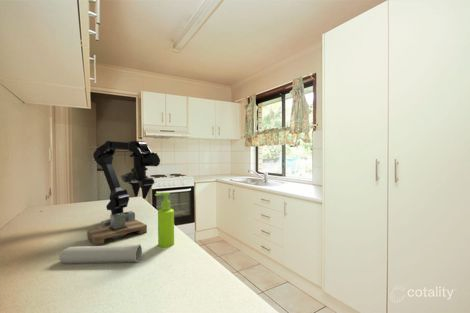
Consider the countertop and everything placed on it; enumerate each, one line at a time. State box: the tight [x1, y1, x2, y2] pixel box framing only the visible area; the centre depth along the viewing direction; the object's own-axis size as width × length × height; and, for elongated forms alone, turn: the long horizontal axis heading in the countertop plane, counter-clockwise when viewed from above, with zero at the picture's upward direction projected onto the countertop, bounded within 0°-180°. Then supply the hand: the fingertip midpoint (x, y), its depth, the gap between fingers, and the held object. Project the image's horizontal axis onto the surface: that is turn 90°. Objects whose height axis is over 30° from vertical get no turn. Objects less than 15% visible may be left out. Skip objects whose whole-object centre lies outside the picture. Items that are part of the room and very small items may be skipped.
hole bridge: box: [86, 219, 148, 246], centre depth 97 cm, size 11×20×4 cm, turn 136°
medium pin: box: [122, 210, 136, 222], centre depth 112 cm, size 4×4×6 cm
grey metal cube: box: [101, 219, 110, 227], centre depth 105 cm, size 4×4×4 cm
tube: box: [58, 243, 143, 265], centre depth 75 cm, size 5×5×25 cm
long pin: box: [109, 213, 126, 239], centre depth 97 cm, size 4×4×9 cm
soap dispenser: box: [154, 191, 175, 248], centre depth 88 cm, size 6×7×20 cm
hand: (140, 197), depth 114 cm, fingers open, 9 cm apart
